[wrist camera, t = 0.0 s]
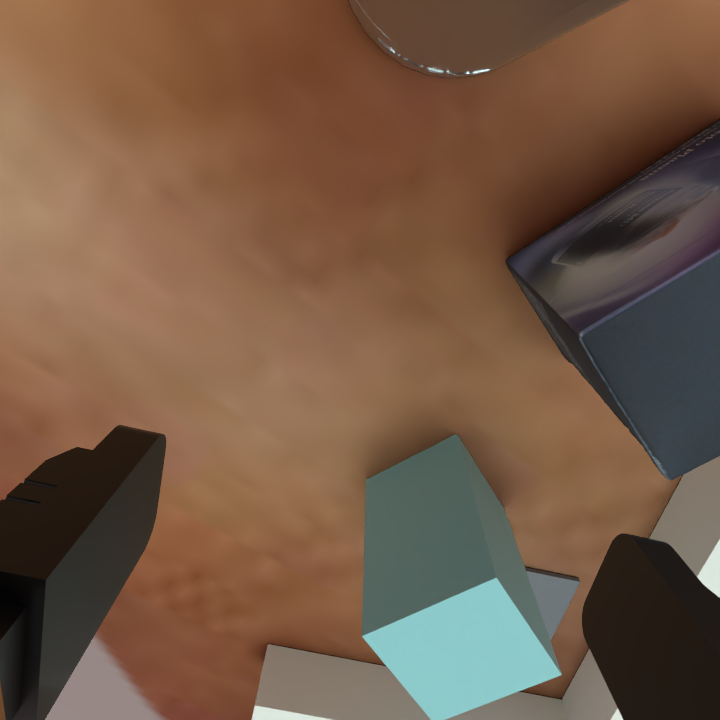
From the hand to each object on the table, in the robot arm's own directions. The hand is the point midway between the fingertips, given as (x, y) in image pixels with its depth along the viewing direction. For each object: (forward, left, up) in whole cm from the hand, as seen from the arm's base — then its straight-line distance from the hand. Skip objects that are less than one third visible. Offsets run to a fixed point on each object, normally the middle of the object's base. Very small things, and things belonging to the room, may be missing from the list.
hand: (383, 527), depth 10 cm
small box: (-4, +11, -18) cm, 21 cm away
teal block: (+11, +6, -17) cm, 21 cm away
